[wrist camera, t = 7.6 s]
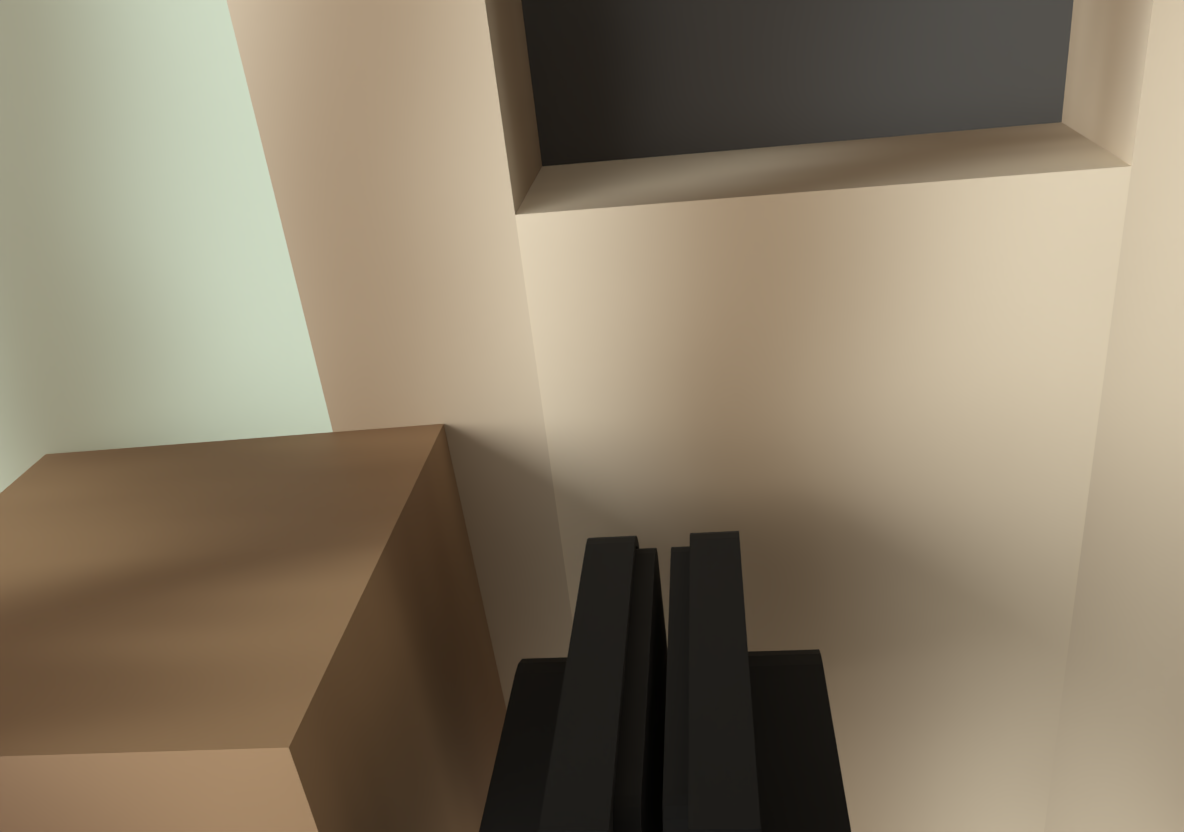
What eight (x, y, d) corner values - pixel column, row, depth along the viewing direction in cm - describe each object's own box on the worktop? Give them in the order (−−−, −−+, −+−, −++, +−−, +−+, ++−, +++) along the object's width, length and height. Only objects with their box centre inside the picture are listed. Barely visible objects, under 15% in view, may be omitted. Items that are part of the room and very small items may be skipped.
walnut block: (443, 422, 12) (288, 747, 7) (514, 748, 14) (428, 1147, 9) (45, 453, 12) (-318, 765, 8) (173, 758, 15) (-55, 1135, 10)
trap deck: (2340, -680, 8) (2936, -888, 6) (1558, 941, 17) (1685, 1096, 15) (-187, -284, 11) (-404, -327, 9) (263, 926, 20) (209, 1054, 18)
